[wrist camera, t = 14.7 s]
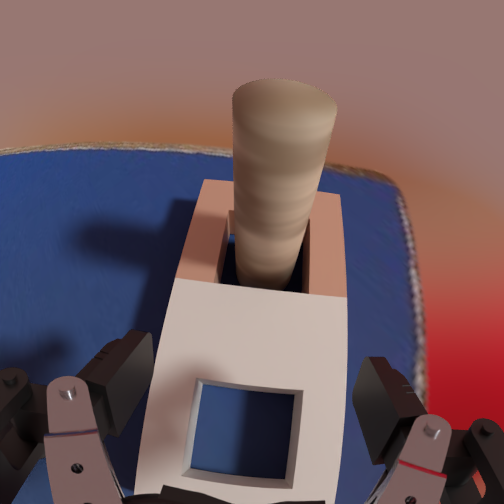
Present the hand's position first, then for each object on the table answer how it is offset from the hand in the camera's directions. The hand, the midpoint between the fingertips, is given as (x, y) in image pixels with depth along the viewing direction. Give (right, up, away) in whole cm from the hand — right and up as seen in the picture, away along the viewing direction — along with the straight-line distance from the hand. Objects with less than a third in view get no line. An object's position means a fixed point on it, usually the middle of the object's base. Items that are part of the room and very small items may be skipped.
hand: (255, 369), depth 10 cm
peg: (+1, +3, +12) cm, 13 cm away
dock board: (0, -2, +9) cm, 9 cm away
